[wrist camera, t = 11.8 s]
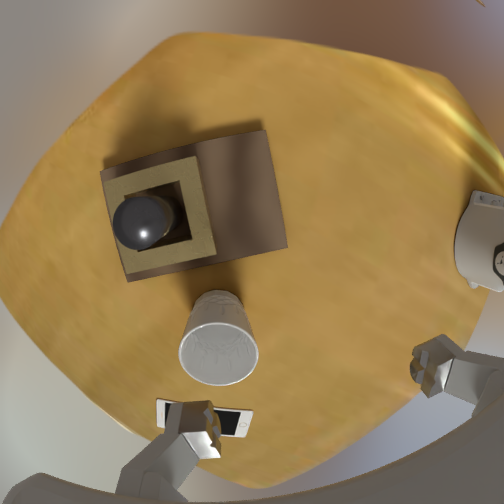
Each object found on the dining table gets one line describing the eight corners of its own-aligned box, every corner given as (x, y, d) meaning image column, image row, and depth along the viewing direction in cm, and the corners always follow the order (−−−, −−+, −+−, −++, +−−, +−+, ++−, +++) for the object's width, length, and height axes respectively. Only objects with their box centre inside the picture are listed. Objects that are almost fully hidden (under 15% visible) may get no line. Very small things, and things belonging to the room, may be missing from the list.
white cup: (183, 287, 34) (171, 325, 24) (246, 281, 34) (255, 318, 25) (193, 340, 35) (186, 388, 26) (250, 335, 36) (260, 381, 26)
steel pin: (178, 191, 29) (154, 190, 19) (186, 225, 30) (167, 243, 20) (145, 200, 29) (107, 204, 18) (153, 234, 30) (120, 255, 19)
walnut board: (263, 132, 30) (265, 129, 29) (285, 245, 34) (287, 247, 32) (104, 171, 29) (99, 171, 28) (131, 278, 32) (127, 282, 31)
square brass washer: (198, 159, 29) (195, 155, 25) (217, 245, 31) (216, 254, 27) (117, 182, 28) (103, 182, 24) (137, 263, 31) (126, 274, 27)
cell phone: (244, 435, 42) (245, 437, 41) (157, 424, 39) (156, 426, 39) (253, 408, 40) (253, 411, 40) (156, 396, 38) (156, 398, 37)
